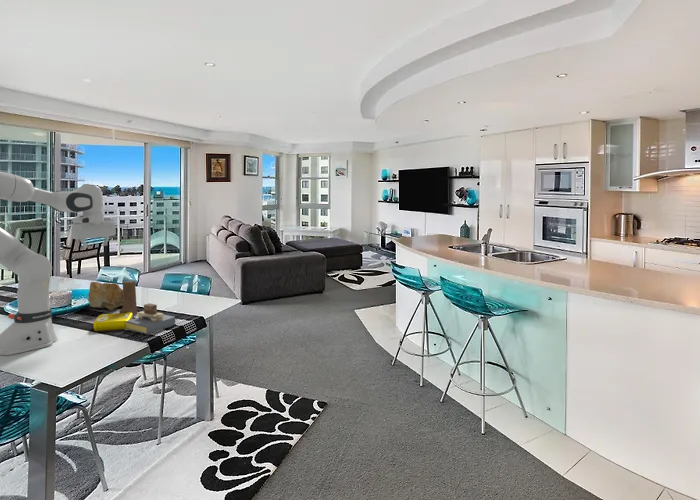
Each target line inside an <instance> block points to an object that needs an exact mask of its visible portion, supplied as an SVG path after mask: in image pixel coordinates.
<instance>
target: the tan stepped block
mask: <svg viewBox="0 0 700 500" xmlns="http://www.w3.org/2000/svg"><path fill="white" fill-rule="evenodd" d="M163 314H164V313H162V312H158V311H157V313H155V314H152V315H151V314H146V313H144V310H142V311H138V312H137V315H138V318H139V319H145V318H151V321H152V322H157V321H161V320H163Z"/></svg>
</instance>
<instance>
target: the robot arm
mask: <svg viewBox="0 0 700 500" xmlns="http://www.w3.org/2000/svg"><path fill="white" fill-rule="evenodd" d="M103 198H104V197H103V192H102V188H101V187H100V186H98V185H96V184H89V183H83V184H82V185H81V186H80V187H78V188H77V189H73V190H72V191H69V190H67V191H66V190H56V191H54V190H53V191H49V190H45V189H41V188H38V187H35V186H34V184H33V182H32V181H31V180H30V179H28V178H25V177H24V176H21V175H17V174H15V173H14V174H13V173H10V172H6V171H5V172H4V171H0V199H1V200H4V201H9V202H18V203H26V202H34V203H38V204H42V205H47V206H48V207H50V208H51V209H53V210H54V211H57V212H59V213H81V212H82V214H81V215H78V216H76V217H73V218H72V219H71V223H72V225H71V227H70V229H71V238H72V239H74V240H79V241H80V243H81V244H82V246H83V249H89V244H87V243H86V241H87V239H94V238H103V239H104V240H103V241H102V246H103V247H106V246H108V242H109V240H110V237H115V236H116V234H117V229H116V226H115V224H116V223H115V219H114V218H113V217H105V213H104V209H103V204H104V199H103ZM0 265H1V266H3V267H5V268H6V269H7V270H9V271H10V272H12V273H13V274H15V275H18V285H17V292H16V300H17V302H16V303H17V313H16V314H14V313H9V314H8V315H7V317H8V318H9V319H11V320H13V322H12V323H11V324H10V325H9V326H8V327H7V328H5V329H4V330H3V331H2V332H0V356H12V355H13V356H14V355H16V354H21V353H24V352H25V353H26V352H29V351H33V350H39V349H42V348H47V347H50V346H52V345H53V343H55V342H57V341H58V337H57V334H56V333H55V329H54V326H53V321H52V320H53V313H52V307H51V304H50V303H51V302H50V289H49V288H50V282H51V281H50V280H51V274H52V271H53V266H52V262H51V261H50V260H49V258H47V256H45V255H43V254H40V253H37V252H35V251H33V250H32V249H30V248H29V247H27V245H25V244H23V243H22V242H21V241H19V239H17V237H15V236H14V235H12V234H11V233H9V232H8V231H6V230H5V229H4V228H2V227H1V226H0Z"/></svg>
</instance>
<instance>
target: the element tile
mask: <svg viewBox="0 0 700 500" xmlns="http://www.w3.org/2000/svg"><path fill="white" fill-rule="evenodd" d="M132 319H134V316H133V314H132V313H131V312H128V313H119V312H116V313H115V312H114V313H102V314H100V315H98V316H97V317H96V319H94V321H93V331H94V332H103V331H113V330H114V331H115V330H117V331H118V330H128V329H127V328H126V321H128V320H132Z"/></svg>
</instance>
